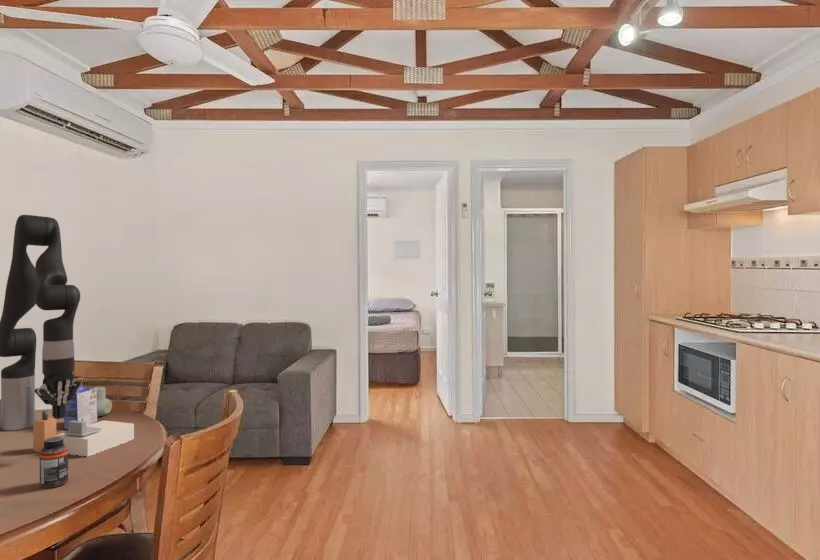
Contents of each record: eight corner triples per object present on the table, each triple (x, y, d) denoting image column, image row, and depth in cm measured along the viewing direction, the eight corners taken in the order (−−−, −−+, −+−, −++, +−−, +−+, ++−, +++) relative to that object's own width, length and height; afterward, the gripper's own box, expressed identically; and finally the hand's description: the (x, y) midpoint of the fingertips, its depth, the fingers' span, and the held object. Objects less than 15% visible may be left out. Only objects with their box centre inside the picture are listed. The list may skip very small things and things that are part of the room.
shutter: (64, 434, 158) (64, 421, 158) (83, 428, 164) (83, 416, 164) (82, 436, 156) (82, 423, 156) (101, 430, 162) (101, 418, 162)
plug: (33, 451, 159) (33, 412, 159) (45, 447, 163) (45, 409, 162) (44, 452, 158) (44, 413, 158) (56, 448, 161) (56, 410, 161)
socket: (55, 452, 158) (55, 435, 158) (103, 435, 174) (103, 420, 174) (87, 457, 154) (87, 439, 154) (133, 439, 171) (133, 423, 171)
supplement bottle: (48, 480, 137) (48, 435, 137) (73, 479, 138) (73, 434, 138) (34, 489, 131) (34, 442, 131) (60, 488, 132) (59, 442, 132)
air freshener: (102, 419, 194) (102, 391, 194) (77, 419, 193) (77, 391, 193) (114, 411, 205) (114, 384, 205) (90, 412, 204) (90, 385, 203)
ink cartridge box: (83, 421, 191) (83, 380, 191) (98, 421, 190) (98, 380, 190) (62, 429, 181) (62, 386, 181) (78, 430, 180) (78, 386, 180)
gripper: (69, 352, 159) (69, 411, 159) (25, 359, 147) (25, 423, 147) (89, 353, 157) (89, 413, 157) (46, 360, 144) (47, 425, 145)
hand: (58, 418), depth 152 cm, fingers closed
